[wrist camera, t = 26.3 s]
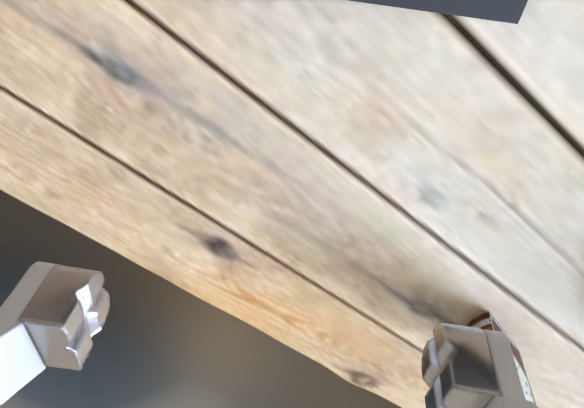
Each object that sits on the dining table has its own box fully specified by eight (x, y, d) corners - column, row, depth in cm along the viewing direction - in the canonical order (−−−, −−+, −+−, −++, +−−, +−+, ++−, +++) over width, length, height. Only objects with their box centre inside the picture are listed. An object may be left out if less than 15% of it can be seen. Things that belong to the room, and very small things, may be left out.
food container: (436, 320, 57) (448, 397, 50) (484, 305, 54) (504, 384, 47) (478, 366, 63) (493, 441, 55) (523, 355, 60) (546, 433, 52)
